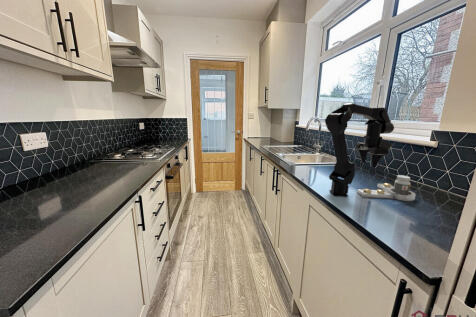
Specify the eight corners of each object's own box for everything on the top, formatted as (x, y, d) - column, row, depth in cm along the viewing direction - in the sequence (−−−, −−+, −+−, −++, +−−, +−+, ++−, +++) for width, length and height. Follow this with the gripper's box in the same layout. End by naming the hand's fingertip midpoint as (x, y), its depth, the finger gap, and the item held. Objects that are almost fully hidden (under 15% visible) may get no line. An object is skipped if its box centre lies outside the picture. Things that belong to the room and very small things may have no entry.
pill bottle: (410, 199, 88) (415, 179, 86) (396, 198, 89) (400, 178, 87) (403, 194, 93) (407, 175, 91) (389, 193, 95) (393, 174, 92)
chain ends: (365, 198, 88) (366, 193, 88) (347, 185, 106) (348, 180, 105) (420, 201, 86) (421, 196, 85) (392, 187, 103) (393, 182, 103)
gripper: (405, 136, 84) (398, 170, 88) (379, 132, 102) (374, 161, 106) (377, 135, 85) (372, 169, 89) (356, 132, 103) (353, 160, 107)
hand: (368, 164), depth 97 cm, fingers open, 9 cm apart
